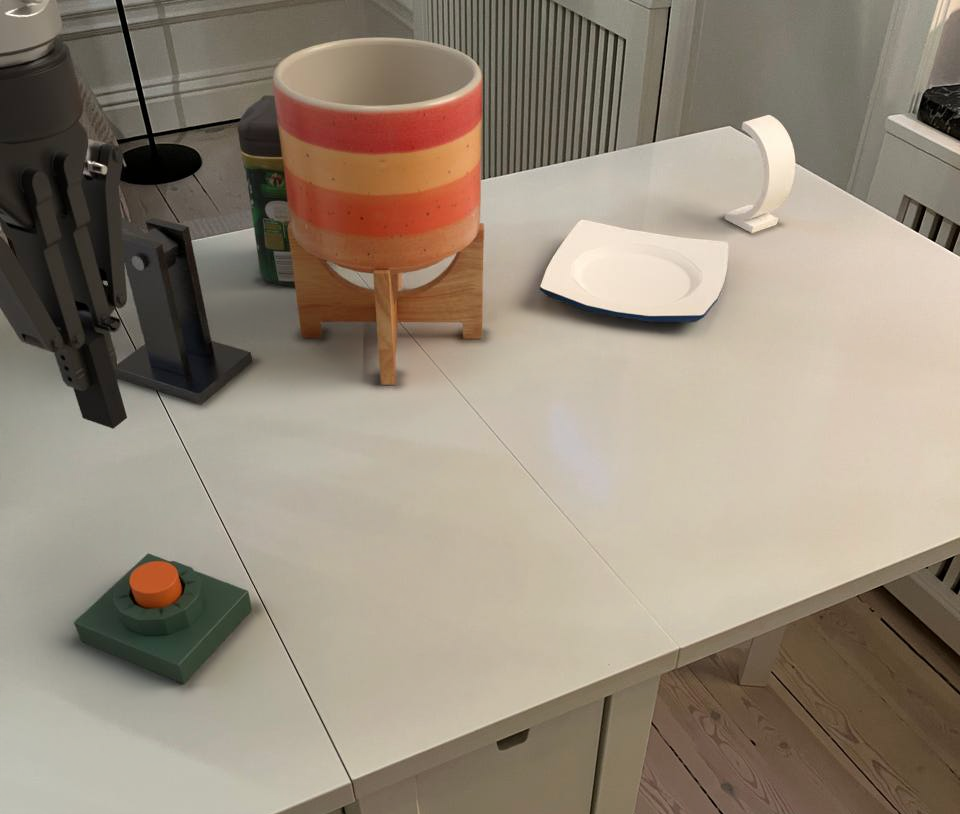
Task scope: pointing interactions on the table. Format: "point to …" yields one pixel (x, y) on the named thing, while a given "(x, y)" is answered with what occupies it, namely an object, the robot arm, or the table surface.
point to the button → (155, 584)
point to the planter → (383, 183)
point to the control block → (166, 622)
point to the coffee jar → (267, 189)
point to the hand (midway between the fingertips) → (105, 417)
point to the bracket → (174, 322)
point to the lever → (155, 236)
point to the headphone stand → (768, 174)
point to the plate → (637, 273)
